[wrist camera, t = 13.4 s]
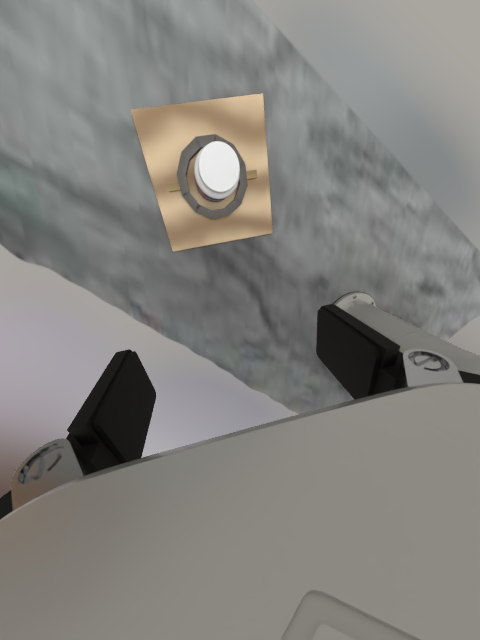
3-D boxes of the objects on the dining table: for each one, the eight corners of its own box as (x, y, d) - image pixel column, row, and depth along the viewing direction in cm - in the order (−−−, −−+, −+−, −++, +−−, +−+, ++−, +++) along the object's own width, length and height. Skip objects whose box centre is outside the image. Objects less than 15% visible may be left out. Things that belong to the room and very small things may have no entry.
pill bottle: (188, 187, 31) (183, 175, 22) (205, 149, 29) (208, 119, 21) (220, 210, 33) (228, 207, 24) (238, 175, 31) (253, 158, 23)
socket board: (270, 232, 37) (275, 233, 35) (173, 250, 35) (171, 252, 33) (260, 97, 29) (265, 87, 26) (132, 113, 27) (126, 104, 25)
